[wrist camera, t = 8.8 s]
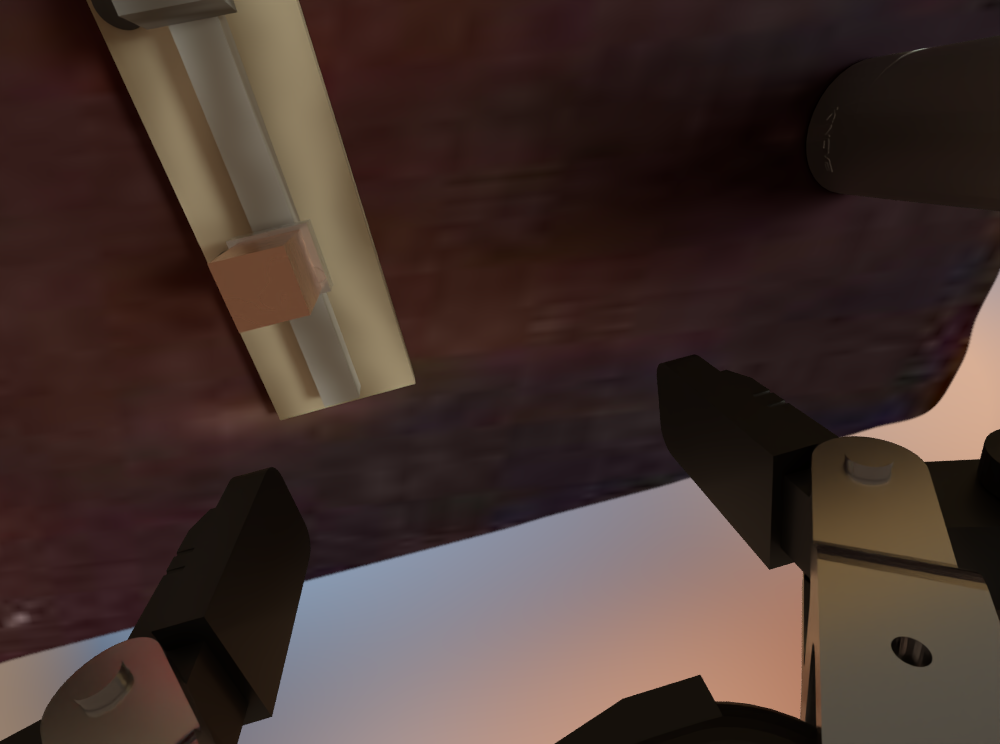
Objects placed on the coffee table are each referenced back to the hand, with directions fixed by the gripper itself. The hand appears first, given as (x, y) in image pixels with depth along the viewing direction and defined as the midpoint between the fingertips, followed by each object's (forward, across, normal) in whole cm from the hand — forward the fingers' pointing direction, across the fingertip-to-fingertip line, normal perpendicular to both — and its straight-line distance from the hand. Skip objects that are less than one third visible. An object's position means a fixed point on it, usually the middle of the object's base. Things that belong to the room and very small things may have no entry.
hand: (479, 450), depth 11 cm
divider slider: (+25, +9, -1) cm, 26 cm away
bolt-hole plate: (+27, +9, -5) cm, 29 cm away
